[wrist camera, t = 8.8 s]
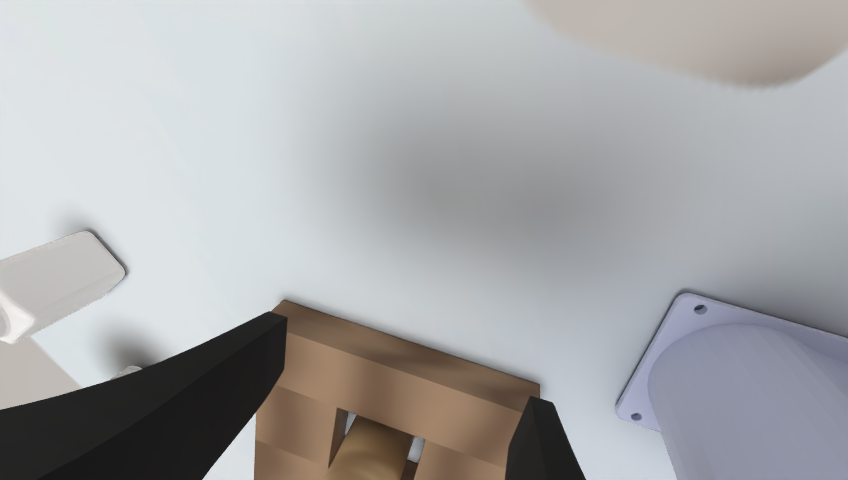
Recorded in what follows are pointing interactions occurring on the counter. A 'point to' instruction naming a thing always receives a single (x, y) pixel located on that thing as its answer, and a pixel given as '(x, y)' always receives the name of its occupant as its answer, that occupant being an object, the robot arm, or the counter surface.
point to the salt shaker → (53, 283)
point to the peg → (371, 452)
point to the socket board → (383, 402)
